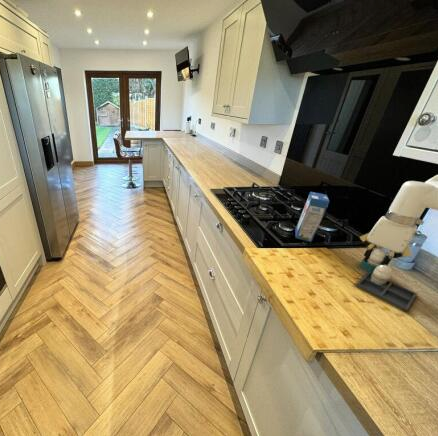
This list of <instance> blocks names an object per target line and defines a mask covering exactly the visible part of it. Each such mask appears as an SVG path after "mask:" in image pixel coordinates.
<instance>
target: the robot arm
mask: <svg viewBox="0 0 438 436" xmlns="http://www.w3.org/2000/svg"><path fill="white" fill-rule="evenodd" d="M426 209H431V210H435V211H438V174H436V175H434V176H433V177H431V178H429V179H427V180H426V181H416V180H408V181H405V182H404V183H402V185H401V187H400V189H399V190H398V192H397V194H396V195H395V197H394V199H393V201H392V202H391V204H390V206H389V208H388V210H387V212H386V213H385V215H383V216H381V217H380V218H379V219H378V221H376V223H375V224H374V226H373V227H372V229H371V230H370V231H369V232H367V233H364V234H362V235H360V236H359V239H360V240H361V241H362V242H363V244H364V246H365V248H366V250H365V252H364V254H363V258H364V259H365V260H367V259H368V257H369V255H370V254H371V252H372V251H373V250H374V247H375V246H378V247H381V248H382V249H383V248H384V249H386V250H388V251H389V252H388V254H387V256H386V258H385V259H384V261H383V262H382V264H381V265H386V266H388V265H389V264H390V262H391V261H392V259H397V258H410V257H411V256H412V251H411V248H410V244H411V242H412V241H413V239H414V236H415V234H416V232H417V230H418V225H420V226H423V224H425V221H424V220H422V219H421V216H422V214H423V213H424V211H425V210H426Z"/></svg>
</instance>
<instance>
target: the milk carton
mask: <svg viewBox="0 0 438 436" xmlns="http://www.w3.org/2000/svg"><path fill="white" fill-rule="evenodd" d="M329 204H330V200H329V197H328V194H325V193H320V192H314V191H310V192H309V194H308V197H307V199H306V202H305V204H304V207H303V210H302V212H301V215H300V216H299V220H298V222H297V224H296V227H295V229H294V230H295V239H298V240H301V241H304V242H309V243H312V242H313V239H314V237H315V235H316V233H317V231H318V229H319V226H320V224H321V222H322V219H323V218H324V215H325V213H326V210H327V208H328V206H329Z"/></svg>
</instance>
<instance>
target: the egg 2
mask: <svg viewBox="0 0 438 436" xmlns="http://www.w3.org/2000/svg"><path fill="white" fill-rule="evenodd" d="M392 276H393V269H392V268H391V267H390V266H388V265H379V266H377V267H376V268H375V270H374V271H373V273H372V275H371V281H372V282H375V283H377V284H379V285H383V284H384V283H386V282H387V281H390V278H391V277H392Z"/></svg>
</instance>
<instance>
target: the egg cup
mask: <svg viewBox="0 0 438 436" xmlns="http://www.w3.org/2000/svg"><path fill="white" fill-rule="evenodd" d="M364 258H365V257H363V258H362V260H361V261H360V262H359V267H360V268H361V269H362V270H363V271H365V272H367V273H368V272H371V273H373V271H374V270H375V268H376V266H373V265H371V264H369V263H367V262H368V261H367V260H365V259H364Z"/></svg>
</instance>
